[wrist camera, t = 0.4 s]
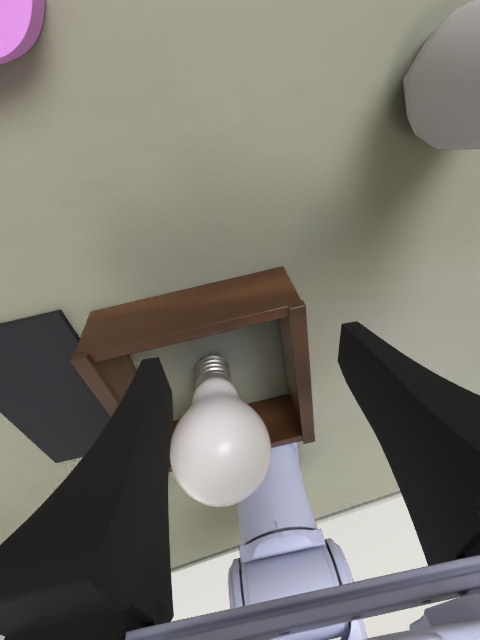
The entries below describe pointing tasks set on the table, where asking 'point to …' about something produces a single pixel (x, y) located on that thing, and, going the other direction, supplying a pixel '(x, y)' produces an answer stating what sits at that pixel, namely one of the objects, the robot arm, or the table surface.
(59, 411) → the mat
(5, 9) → the bracket
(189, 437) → the lightbulb
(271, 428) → the open wooden tray
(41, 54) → the table surface
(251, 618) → the robot arm
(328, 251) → the table surface
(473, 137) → the salt shaker
